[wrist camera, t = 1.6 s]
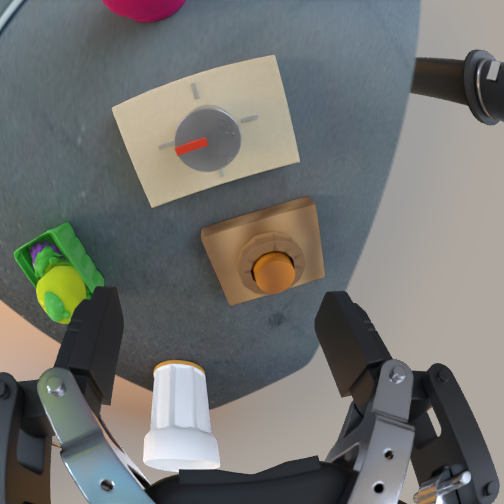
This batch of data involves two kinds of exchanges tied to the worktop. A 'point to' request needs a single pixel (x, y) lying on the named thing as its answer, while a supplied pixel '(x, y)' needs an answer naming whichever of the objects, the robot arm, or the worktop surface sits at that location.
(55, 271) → the fruit basket
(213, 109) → the dimmer knob
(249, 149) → the dimmer panel
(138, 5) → the pepper mill
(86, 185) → the worktop surface
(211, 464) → the cup
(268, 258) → the light button
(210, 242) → the switch block
